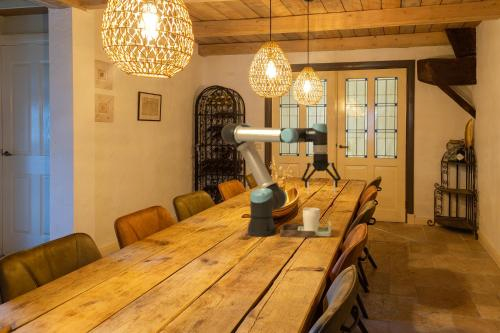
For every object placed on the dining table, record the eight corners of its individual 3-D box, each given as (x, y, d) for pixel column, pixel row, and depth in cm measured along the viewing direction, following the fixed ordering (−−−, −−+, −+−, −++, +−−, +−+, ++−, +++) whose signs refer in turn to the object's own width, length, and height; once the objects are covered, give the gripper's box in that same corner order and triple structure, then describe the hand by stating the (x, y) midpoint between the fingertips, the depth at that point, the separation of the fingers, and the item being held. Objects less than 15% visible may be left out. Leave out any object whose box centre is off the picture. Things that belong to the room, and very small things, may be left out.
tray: (297, 235, 232) (297, 223, 231) (298, 229, 245) (298, 218, 244) (330, 236, 229) (331, 224, 229) (330, 230, 242) (330, 219, 242)
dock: (280, 236, 232) (280, 230, 232) (282, 229, 248) (282, 223, 247) (315, 237, 229) (315, 231, 229) (315, 230, 245) (315, 224, 245)
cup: (319, 233, 232) (319, 210, 231) (301, 233, 234) (301, 210, 233) (320, 229, 241) (320, 207, 240) (303, 229, 243) (303, 207, 242)
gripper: (295, 154, 231) (296, 195, 233) (345, 153, 227) (346, 194, 229) (296, 153, 239) (297, 193, 240) (344, 152, 235) (345, 192, 236)
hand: (321, 194), depth 234 cm, fingers open, 13 cm apart
